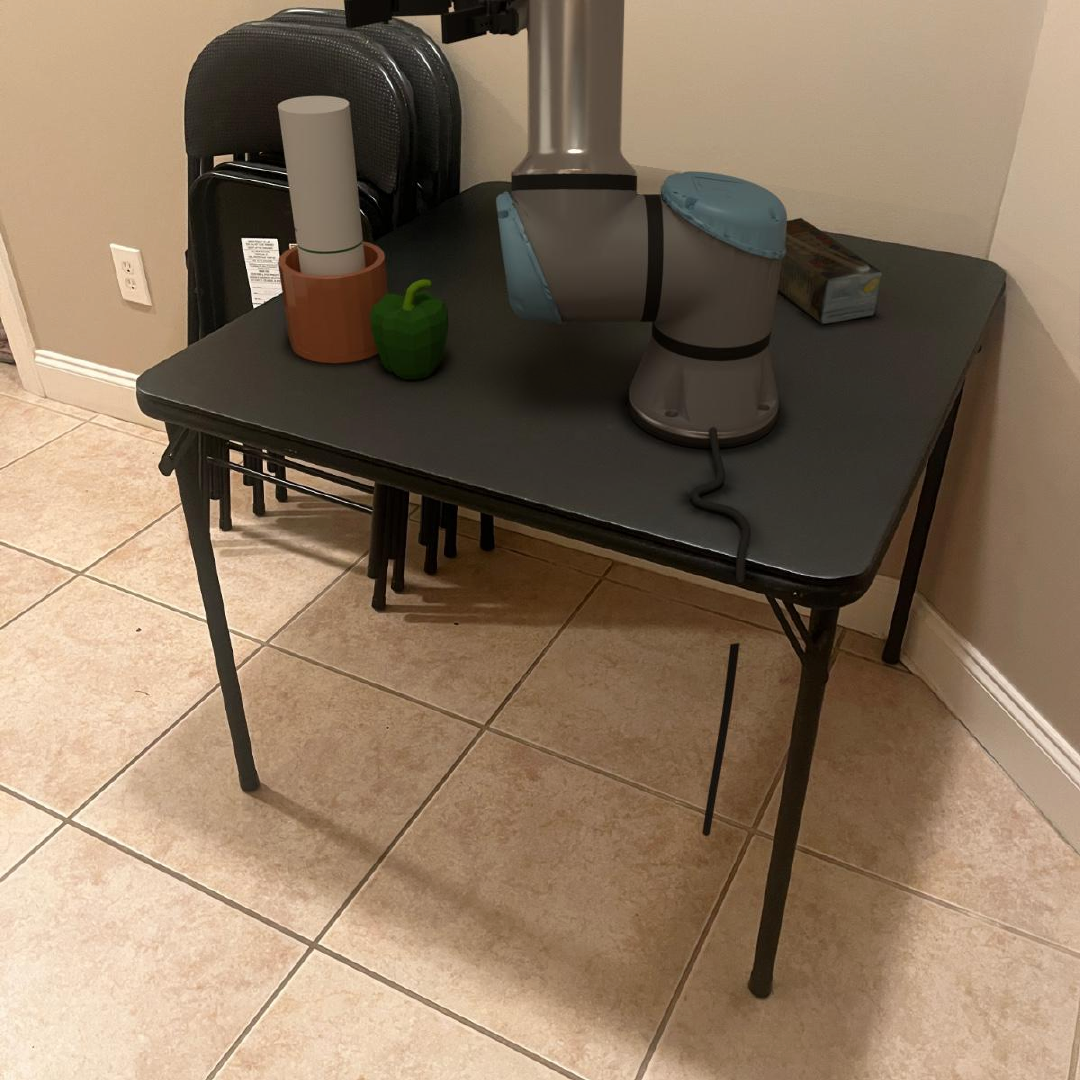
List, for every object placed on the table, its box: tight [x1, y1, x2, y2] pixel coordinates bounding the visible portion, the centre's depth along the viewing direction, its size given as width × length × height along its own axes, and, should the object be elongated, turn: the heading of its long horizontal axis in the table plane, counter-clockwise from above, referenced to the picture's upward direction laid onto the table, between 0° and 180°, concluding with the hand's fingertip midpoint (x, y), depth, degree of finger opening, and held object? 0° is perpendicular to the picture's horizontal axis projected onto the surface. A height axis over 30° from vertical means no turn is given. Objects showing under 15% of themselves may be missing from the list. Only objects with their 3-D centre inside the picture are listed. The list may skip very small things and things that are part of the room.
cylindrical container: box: [277, 95, 366, 276], centre depth 111 cm, size 7×7×25 cm
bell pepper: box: [370, 278, 449, 380], centre depth 110 cm, size 8×8×10 cm
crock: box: [277, 240, 389, 364], centre depth 116 cm, size 12×12×10 cm
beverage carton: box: [778, 217, 883, 325], centre depth 129 cm, size 8×19×7 cm, turn 19°
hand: (394, 21), depth 107 cm, fingers open, 13 cm apart
